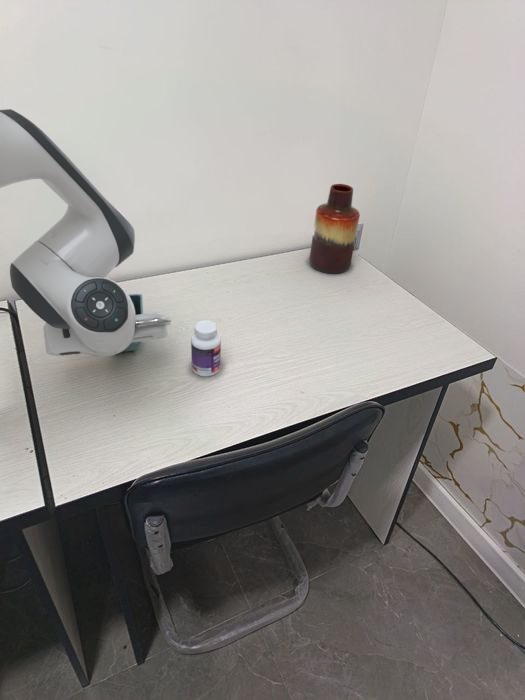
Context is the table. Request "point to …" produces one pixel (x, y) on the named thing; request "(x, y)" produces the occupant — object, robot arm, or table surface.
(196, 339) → the pill bottle
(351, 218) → the vase
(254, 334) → the table surface
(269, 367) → the table surface
